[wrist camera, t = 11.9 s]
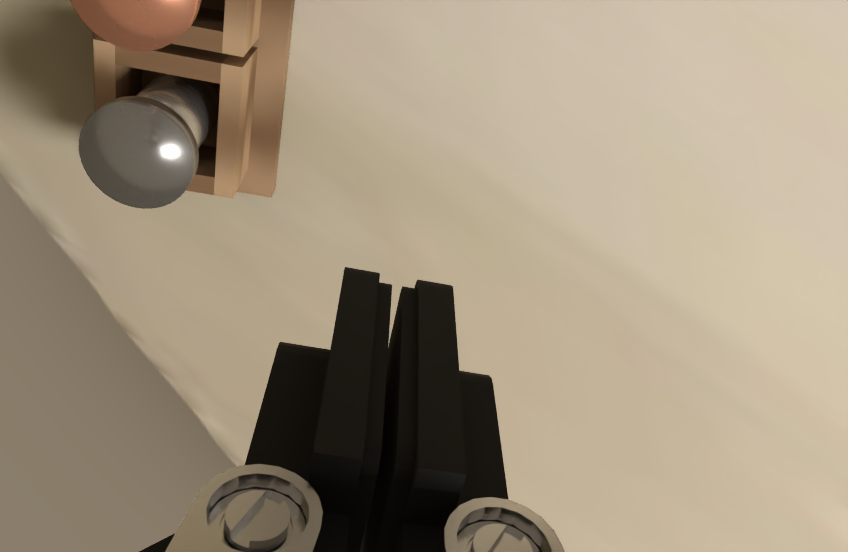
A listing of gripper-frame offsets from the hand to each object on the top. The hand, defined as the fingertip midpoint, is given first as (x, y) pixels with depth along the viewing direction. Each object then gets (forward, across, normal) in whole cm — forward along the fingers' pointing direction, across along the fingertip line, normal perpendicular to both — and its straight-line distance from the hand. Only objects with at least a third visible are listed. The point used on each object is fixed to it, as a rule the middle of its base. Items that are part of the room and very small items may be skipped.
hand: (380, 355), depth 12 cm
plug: (+30, +11, +8) cm, 33 cm away
